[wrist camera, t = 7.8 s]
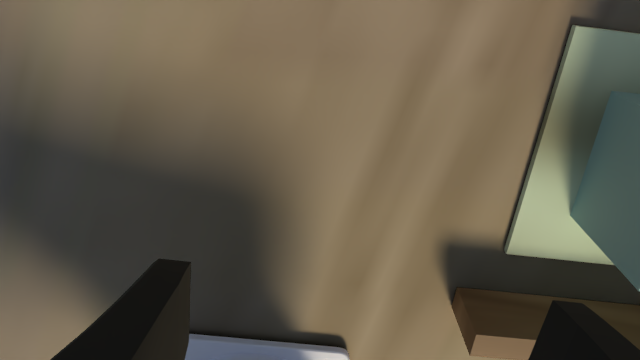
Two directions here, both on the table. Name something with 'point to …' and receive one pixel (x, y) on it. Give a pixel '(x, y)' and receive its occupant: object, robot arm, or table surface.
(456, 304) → the corner arena
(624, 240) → the cube
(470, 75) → the table surface
